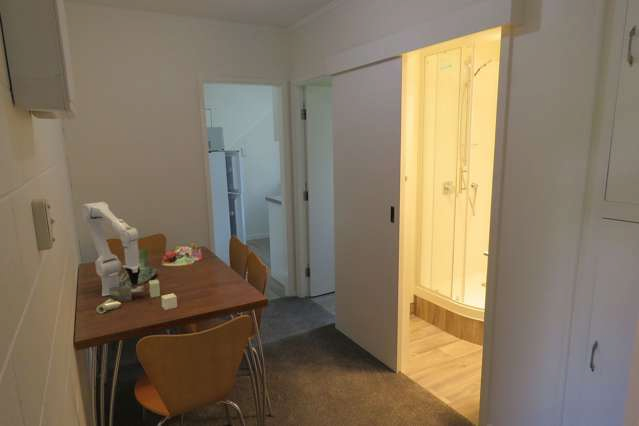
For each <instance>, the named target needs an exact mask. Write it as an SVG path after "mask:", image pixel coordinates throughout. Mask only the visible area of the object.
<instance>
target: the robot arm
mask: <svg viewBox="0 0 639 426" xmlns="http://www.w3.org/2000/svg"><path fill="white" fill-rule="evenodd" d="M81 215H82V218H83V220H84V222H85V223H86V224H87V227H88V230H89V233H90V235H91V238H92V241H93V244H94V246H95V249H96V252H97V255H98V258H97V259H96V261H95V263H94V264H95V272H96V274H97V275H98V276H99V277H100V279H101V288H102V289H101V296H102V297H106V296H110V290H109V288H113V287H119V277H120V276H119V274H120V271H121V270H122V268H123V269H125V272H126V271H127V273H128V275H129V278H130V281H131V283H132V285H137V283H138V277H139V273H140V271H141V270H140V269H139V266H140V263H139V253H138V249H139V243H138V241H139V239H140V237H141V234H140V231H139V229H138V228H137V227H133V226H132V227H131V226H130V225H129V224H127V222H125V220H124V219H122V218H117V217H116V216H115V215H114V213H113V212H112V211H111V210H110V206H109V204H107V202H105V201H101V202H100V201H99V202H91V203H90V202H89V203H84V204H83V205H82V208H81ZM103 220H105V221H106V222H108V223H109V224H110V225H111V226H110V227H111V228H112V230H113V231H115V232H116V234H117V235H118V236H119V239H120V241H121V244H122V246H123V251H124V253H123V254H124V261H125V262H124V263H125V264H123V265H122V262H121V261H120V260H119V258H118V256H117V255H116V254H113V253H112V251H111V250H110V249H111V248H110V246H109V244H108V241H107V238H106V236H105V233H104V230H103V227H102V224H101V222H102V221H103ZM137 286H138V285H137Z"/></svg>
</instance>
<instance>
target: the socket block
mask: <svg viewBox="0 0 639 426" xmlns="http://www.w3.org/2000/svg"><path fill="white" fill-rule="evenodd" d="M160 289H161V288H160V281H159V279H153V280H152V279H151V280H149V281H148V290H149V296H150V298H156V297H157V298H158V297H160V296H161V290H160Z"/></svg>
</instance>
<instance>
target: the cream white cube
mask: <svg viewBox="0 0 639 426" xmlns="http://www.w3.org/2000/svg"><path fill="white" fill-rule="evenodd" d="M160 296H161V297H160V298H161V307H162V308H163V309H164V311H167V310H172V309H176V308H178V300H177V299H178V297H177V295H176V294H175V293H169V294H164V295H160Z"/></svg>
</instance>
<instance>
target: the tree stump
mask: <svg viewBox="0 0 639 426" xmlns="http://www.w3.org/2000/svg"><path fill="white" fill-rule="evenodd" d="M138 253H139V263H140V266H139V269H140V270H141V271H140V273H139V277H138V283H137V286H140V285H143V284H146V283H149V281H151V280H152V279H153V278H154V277H155V276H156V275H157V272H158V271H157V269H155V268H152V267H151V266H150V265H149V260H148V250H147V249H146V250H145V249H139V248H138ZM118 277H119V286H126V285H130V286H131V287H132V283H131V281H130V278H129V275H128V273H127V271H126V270H125V272H124V273H121V274H120V276H118Z"/></svg>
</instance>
